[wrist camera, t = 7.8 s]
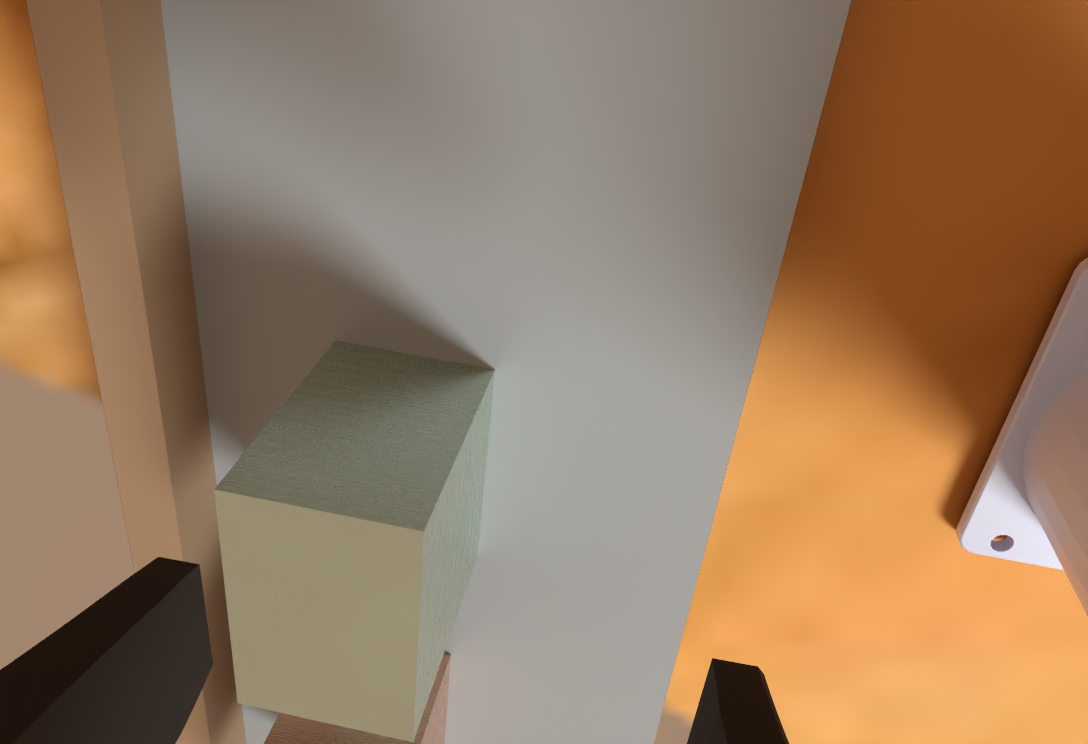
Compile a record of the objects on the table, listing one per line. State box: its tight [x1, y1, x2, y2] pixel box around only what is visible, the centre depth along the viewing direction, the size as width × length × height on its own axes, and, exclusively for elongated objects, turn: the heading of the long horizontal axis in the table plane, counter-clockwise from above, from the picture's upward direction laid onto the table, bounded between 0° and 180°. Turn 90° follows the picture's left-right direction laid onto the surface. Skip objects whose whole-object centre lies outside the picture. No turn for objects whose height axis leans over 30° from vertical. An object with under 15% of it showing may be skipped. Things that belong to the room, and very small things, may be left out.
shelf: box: [26, 0, 851, 744], centre depth 22 cm, size 15×30×3 cm, turn 174°
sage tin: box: [214, 341, 495, 742], centre depth 20 cm, size 4×6×6 cm
